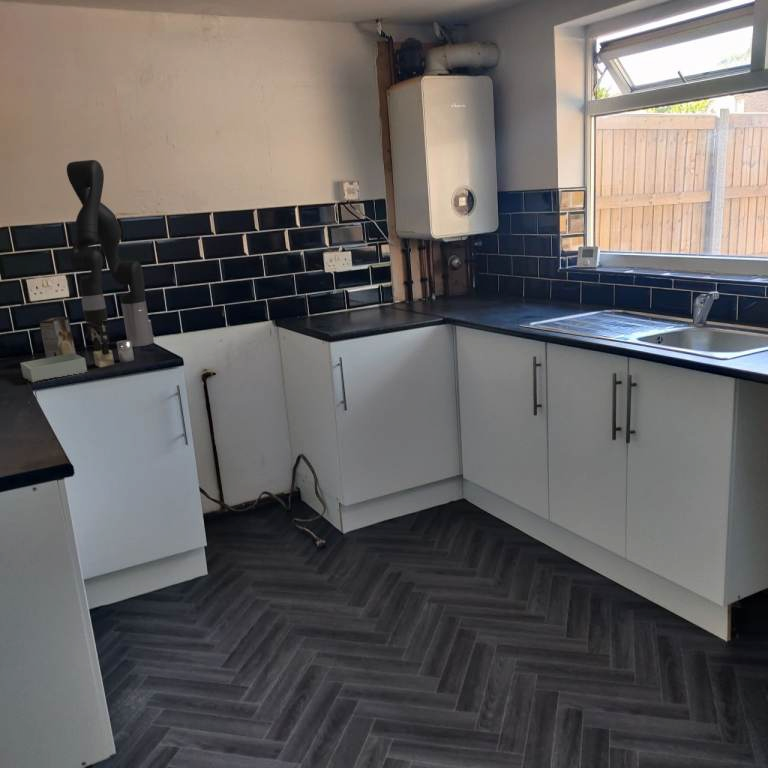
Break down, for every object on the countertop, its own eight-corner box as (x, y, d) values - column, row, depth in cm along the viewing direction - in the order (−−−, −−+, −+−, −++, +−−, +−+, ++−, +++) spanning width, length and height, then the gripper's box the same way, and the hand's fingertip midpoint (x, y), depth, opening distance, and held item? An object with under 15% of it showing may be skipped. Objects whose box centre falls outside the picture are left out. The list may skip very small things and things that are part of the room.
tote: (75, 366, 260) (73, 352, 259) (87, 372, 250) (84, 358, 248) (23, 376, 250) (20, 362, 248) (33, 383, 239) (30, 368, 238)
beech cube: (109, 362, 263) (107, 349, 262) (114, 364, 259) (111, 350, 258) (95, 365, 260) (93, 351, 259) (100, 367, 256) (97, 353, 255)
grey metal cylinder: (131, 357, 268) (128, 339, 266) (136, 359, 264) (133, 341, 262) (117, 360, 265) (114, 341, 263) (122, 362, 261) (119, 343, 259)
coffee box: (62, 358, 275) (54, 316, 271) (77, 358, 274) (69, 316, 270) (46, 364, 267) (38, 321, 262) (62, 364, 265) (53, 321, 261)
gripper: (111, 307, 251) (119, 353, 255) (98, 304, 262) (106, 348, 266) (89, 311, 246) (97, 357, 250) (77, 307, 257) (85, 352, 261)
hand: (102, 352), depth 258 cm, fingers open, 8 cm apart
